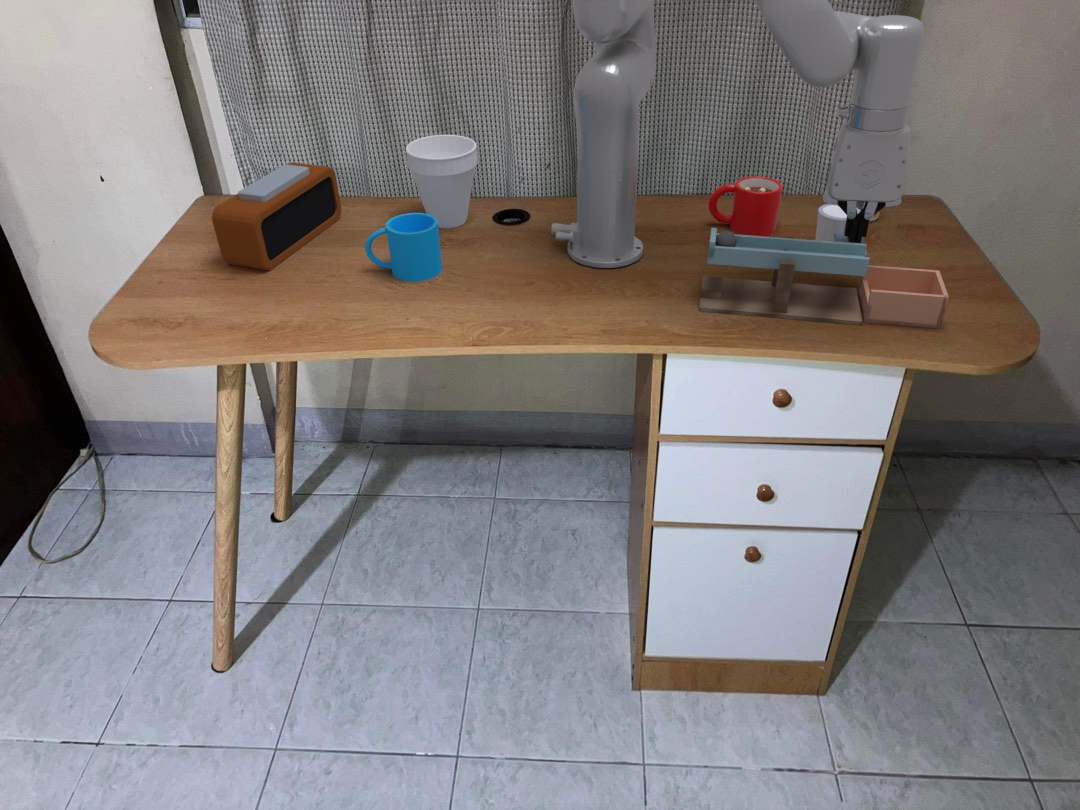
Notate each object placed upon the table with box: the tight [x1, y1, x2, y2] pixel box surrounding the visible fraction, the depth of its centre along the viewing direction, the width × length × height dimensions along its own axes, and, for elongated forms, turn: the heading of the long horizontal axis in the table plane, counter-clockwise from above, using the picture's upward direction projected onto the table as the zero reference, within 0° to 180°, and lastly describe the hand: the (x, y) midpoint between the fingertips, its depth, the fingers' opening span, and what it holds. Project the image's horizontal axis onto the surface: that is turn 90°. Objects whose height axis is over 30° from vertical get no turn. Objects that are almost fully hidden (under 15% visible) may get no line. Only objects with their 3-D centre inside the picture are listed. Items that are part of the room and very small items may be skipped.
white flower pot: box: [405, 134, 479, 229], centre depth 147 cm, size 12×12×14 cm
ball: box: [716, 230, 737, 247], centre depth 121 cm, size 3×3×3 cm
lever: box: [707, 227, 871, 277], centre depth 122 cm, size 22×13×4 cm, turn 78°
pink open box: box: [858, 264, 950, 330], centre depth 120 cm, size 10×8×5 cm
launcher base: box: [698, 235, 863, 326], centre depth 122 cm, size 23×10×8 cm, turn 78°
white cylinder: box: [815, 203, 861, 242], centre depth 136 cm, size 7×7×7 cm
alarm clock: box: [211, 161, 342, 272], centre depth 142 cm, size 24×8×11 cm, turn 160°
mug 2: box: [708, 175, 783, 237], centre depth 144 cm, size 8×12×8 cm, turn 82°
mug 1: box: [364, 212, 443, 283], centre depth 133 cm, size 12×8×8 cm
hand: (853, 240), depth 124 cm, fingers closed
